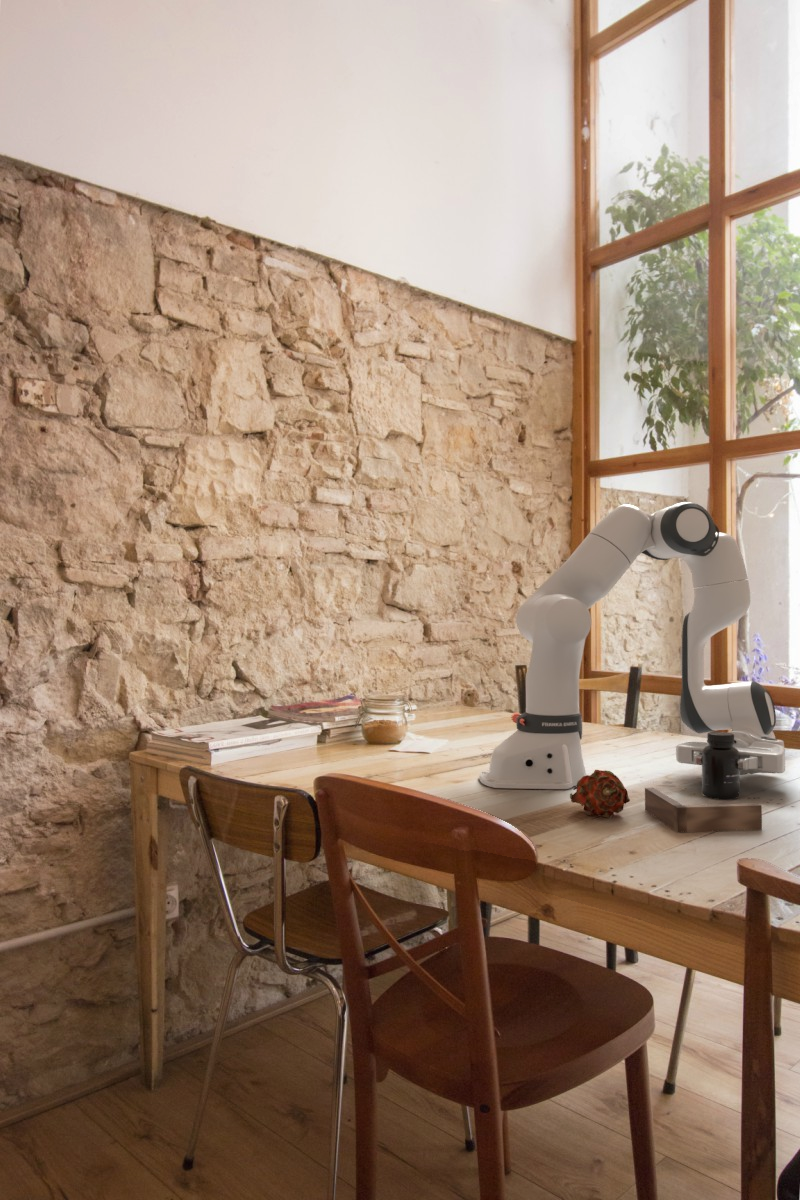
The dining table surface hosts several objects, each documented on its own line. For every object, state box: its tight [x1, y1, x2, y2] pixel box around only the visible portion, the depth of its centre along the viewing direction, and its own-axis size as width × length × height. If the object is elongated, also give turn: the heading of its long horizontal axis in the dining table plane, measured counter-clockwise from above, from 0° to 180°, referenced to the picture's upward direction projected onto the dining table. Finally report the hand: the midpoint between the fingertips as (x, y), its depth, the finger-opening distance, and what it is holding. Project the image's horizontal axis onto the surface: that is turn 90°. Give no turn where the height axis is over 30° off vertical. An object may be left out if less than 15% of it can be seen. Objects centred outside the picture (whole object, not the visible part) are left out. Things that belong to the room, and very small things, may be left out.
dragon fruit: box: [569, 769, 631, 819], centre depth 151 cm, size 8×8×12 cm
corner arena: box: [644, 787, 763, 833], centre depth 146 cm, size 14×15×4 cm
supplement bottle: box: [701, 731, 741, 801], centre depth 164 cm, size 7×7×12 cm
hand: (719, 762), depth 163 cm, fingers closed on supplement bottle, 7 cm apart
